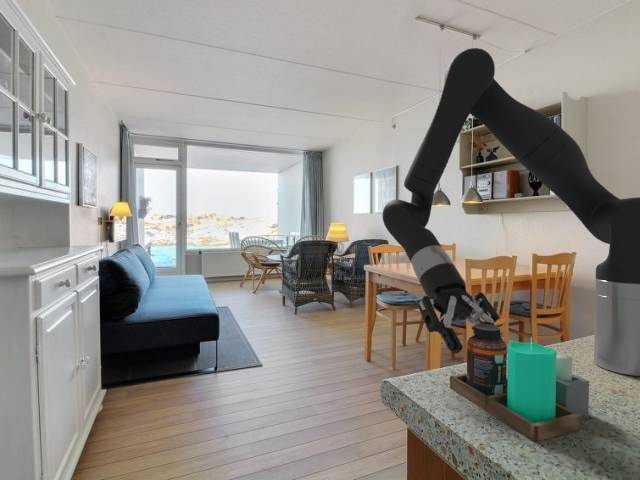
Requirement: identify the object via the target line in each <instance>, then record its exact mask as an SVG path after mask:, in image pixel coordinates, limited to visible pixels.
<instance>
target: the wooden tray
mask: <svg viewBox="0 0 640 480" xmlns="http://www.w3.org/2000/svg"><path fill="white" fill-rule="evenodd" d="M449 389H452V390H453V391H454V392H456V393H458V395H459V394H460V395H461V396H462V397H464V398H465V399H467V400H468V401H470V402H472V403H473V404H475V405H476V406H478V407H479V408H481V409H483V410H484V411H486V412H487V413H489V414H490V415H492V416H493V417H495V418H496V419H497V420H500V421H501V422H503V423H504V424H506V425H507V426H509V427H511V429H512V428H513V429H514V430H515V431H517V432H518V433H520V434H522V435H523V436H524V437H526V438H528V439H529V440H531V441H533V442H534V443H535V442H540V441H543V440H547V439H552V438H555V437H560V436H563V435H567V434H570V433H571V434H572V433H574V432H578V431H581V430H582V416H581V415H579V414H577V413H575V412H573V411H571V410H569V409H567V408H565V407H563V406H561V405H559V404H557V403H556V408H555V419H551V420H547V421H542V422H538V423H532V422H531V421H529V420H527V419H526V418H524V417H522V416H521V415H519V414H517V413H515V412H514V411H512V410H510V409H509V408H507V379H506V393H502V394H497V395H492V396H487V395H485V394H483V393H481V392H480V391H478V390H476V389H475V388H473V387H471V386H470V385H468V384H467V373H461V374H456V375H449Z"/></svg>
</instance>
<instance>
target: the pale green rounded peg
mask: <svg viewBox="0 0 640 480" xmlns="http://www.w3.org/2000/svg"><path fill="white" fill-rule="evenodd" d="M572 374H573V358H572V356H569V355H567V354H562V353H561V354H559V353H556V379H559V380H561V381H563V382H569V381H572Z"/></svg>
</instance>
